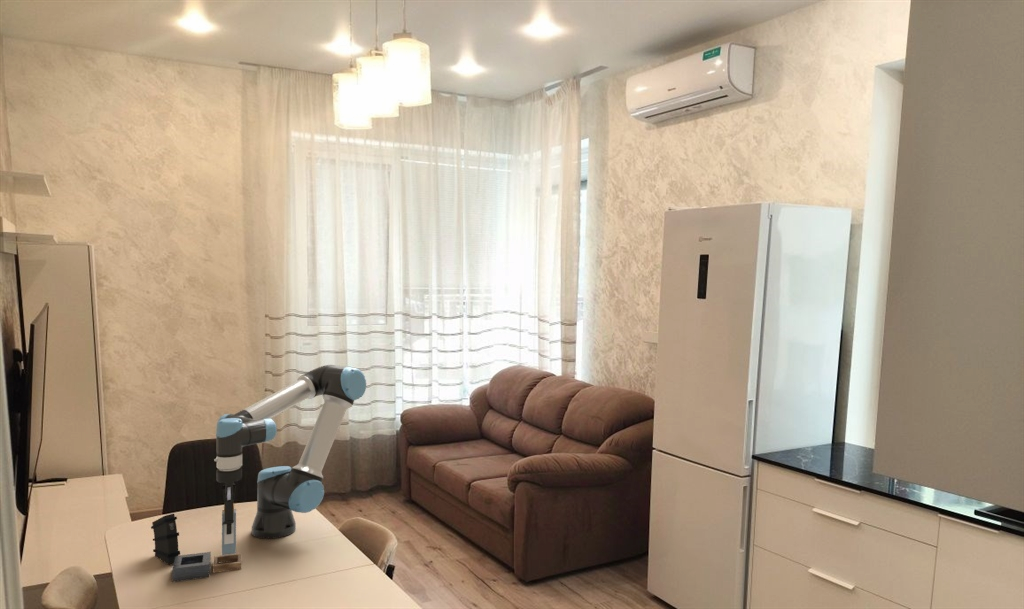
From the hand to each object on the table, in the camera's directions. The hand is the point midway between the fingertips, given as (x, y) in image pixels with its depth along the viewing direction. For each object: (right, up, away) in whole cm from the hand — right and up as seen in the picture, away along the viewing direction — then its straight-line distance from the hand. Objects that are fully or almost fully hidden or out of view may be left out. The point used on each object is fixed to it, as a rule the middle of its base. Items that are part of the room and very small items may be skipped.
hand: (229, 540), depth 204 cm
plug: (0, -4, 0) cm, 4 cm away
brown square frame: (0, -8, 0) cm, 8 cm away
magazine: (-23, -8, +4) cm, 24 cm away
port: (-9, -8, -6) cm, 13 cm away
